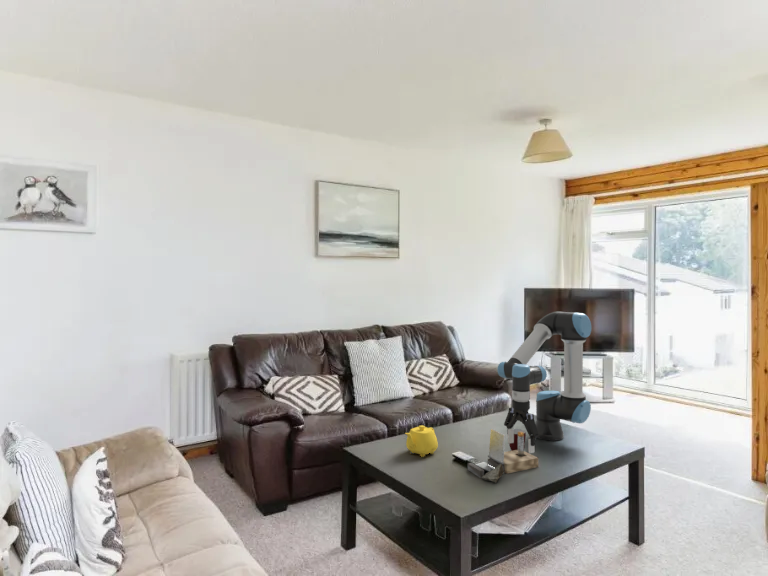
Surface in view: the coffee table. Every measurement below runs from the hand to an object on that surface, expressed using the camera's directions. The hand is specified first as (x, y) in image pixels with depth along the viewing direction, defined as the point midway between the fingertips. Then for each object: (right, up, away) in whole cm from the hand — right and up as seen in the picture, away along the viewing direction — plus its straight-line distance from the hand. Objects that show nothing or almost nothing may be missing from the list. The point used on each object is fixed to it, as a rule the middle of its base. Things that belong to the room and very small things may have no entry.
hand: (520, 447), depth 220 cm
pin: (0, -7, 0) cm, 7 cm away
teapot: (-44, -7, +14) cm, 46 cm away
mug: (+2, -7, +13) cm, 15 cm away
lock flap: (-12, -3, -6) cm, 14 cm away
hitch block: (-9, -7, -4) cm, 13 cm away
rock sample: (-16, -8, -17) cm, 25 cm away
